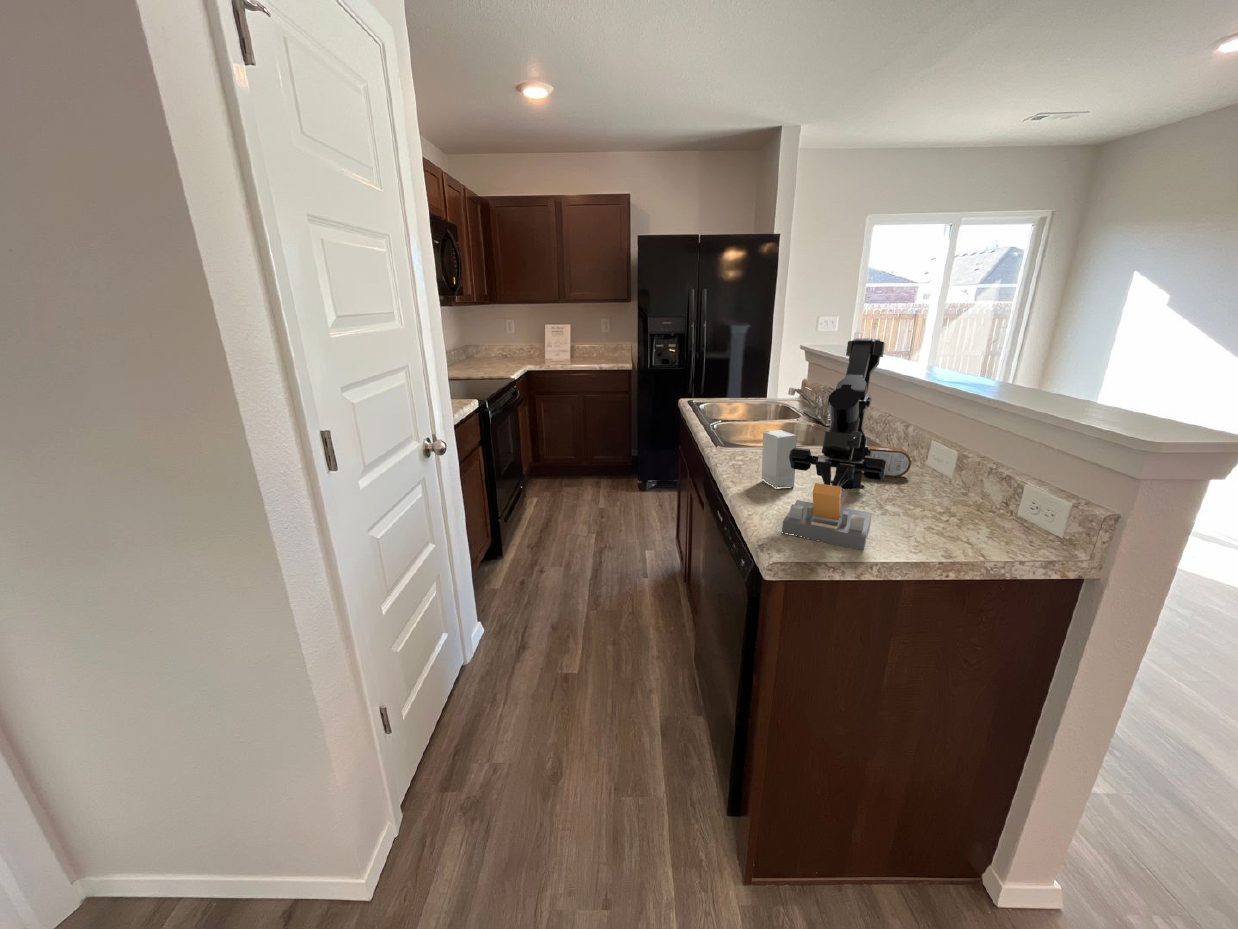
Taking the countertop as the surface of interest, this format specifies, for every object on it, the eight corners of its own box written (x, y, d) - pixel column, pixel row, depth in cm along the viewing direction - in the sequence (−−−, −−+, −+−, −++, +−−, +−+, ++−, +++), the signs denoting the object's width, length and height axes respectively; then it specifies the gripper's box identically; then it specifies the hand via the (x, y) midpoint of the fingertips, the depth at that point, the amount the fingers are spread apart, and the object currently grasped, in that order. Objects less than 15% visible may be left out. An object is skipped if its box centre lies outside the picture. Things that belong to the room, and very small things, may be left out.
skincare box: (794, 488, 131) (799, 435, 127) (774, 490, 130) (778, 437, 126) (778, 479, 139) (782, 428, 135) (759, 480, 138) (762, 430, 134)
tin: (907, 475, 140) (912, 447, 138) (909, 479, 137) (914, 450, 135) (850, 471, 145) (854, 444, 142) (851, 474, 142) (855, 447, 140)
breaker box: (795, 511, 116) (798, 490, 114) (870, 525, 108) (873, 502, 106) (781, 533, 105) (783, 510, 103) (863, 550, 97) (867, 525, 95)
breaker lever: (816, 508, 106) (814, 482, 99) (841, 513, 103) (841, 486, 96) (814, 517, 105) (812, 492, 97) (839, 522, 102) (839, 496, 95)
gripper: (794, 411, 105) (778, 474, 99) (892, 419, 96) (880, 489, 90) (799, 438, 114) (784, 497, 108) (889, 447, 104) (877, 513, 99)
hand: (828, 498), depth 101 cm, fingers closed, pressing on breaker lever
